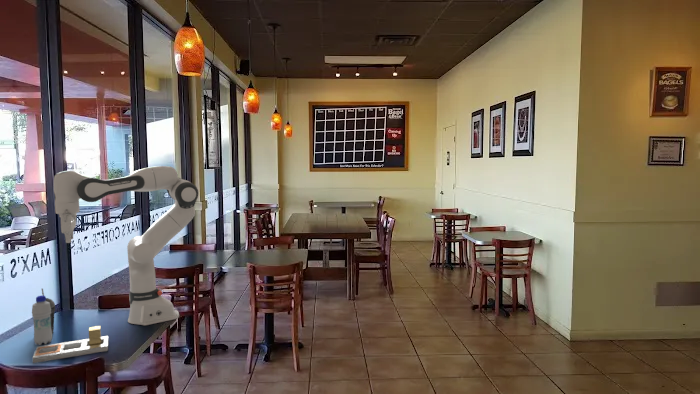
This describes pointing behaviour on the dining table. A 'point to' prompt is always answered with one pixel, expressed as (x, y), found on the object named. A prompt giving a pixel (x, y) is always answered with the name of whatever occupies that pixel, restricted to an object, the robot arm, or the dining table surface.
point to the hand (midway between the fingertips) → (69, 241)
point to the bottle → (42, 321)
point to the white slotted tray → (60, 349)
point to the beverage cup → (51, 310)
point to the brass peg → (94, 335)
